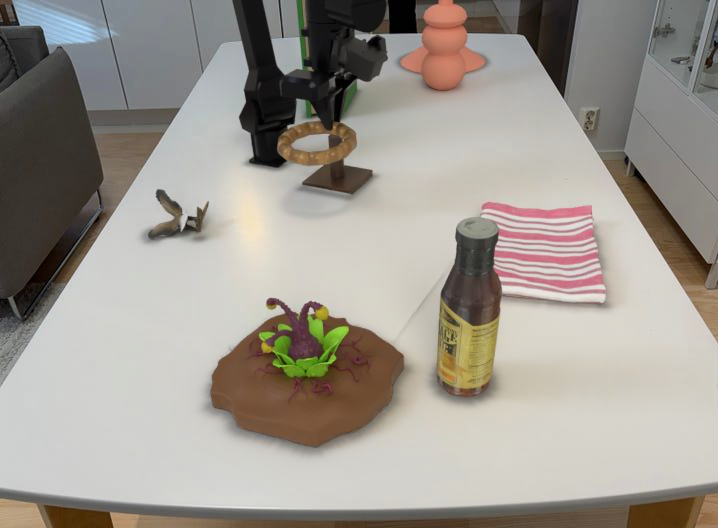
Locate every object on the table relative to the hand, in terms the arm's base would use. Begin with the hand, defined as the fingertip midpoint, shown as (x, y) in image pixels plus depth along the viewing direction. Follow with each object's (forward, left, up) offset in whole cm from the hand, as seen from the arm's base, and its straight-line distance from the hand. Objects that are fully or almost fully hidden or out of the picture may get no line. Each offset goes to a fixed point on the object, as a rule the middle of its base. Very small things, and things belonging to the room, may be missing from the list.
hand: (332, 127), depth 107 cm
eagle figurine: (-17, -21, -12) cm, 29 cm away
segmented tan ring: (0, -5, -1) cm, 5 cm away
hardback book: (-23, +40, -12) cm, 48 cm away
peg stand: (-3, +5, -12) cm, 13 cm away
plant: (+19, -43, -12) cm, 48 cm away
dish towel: (+35, -6, -12) cm, 38 cm away
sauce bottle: (+35, -36, -12) cm, 52 cm away
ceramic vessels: (-9, +71, -12) cm, 73 cm away
